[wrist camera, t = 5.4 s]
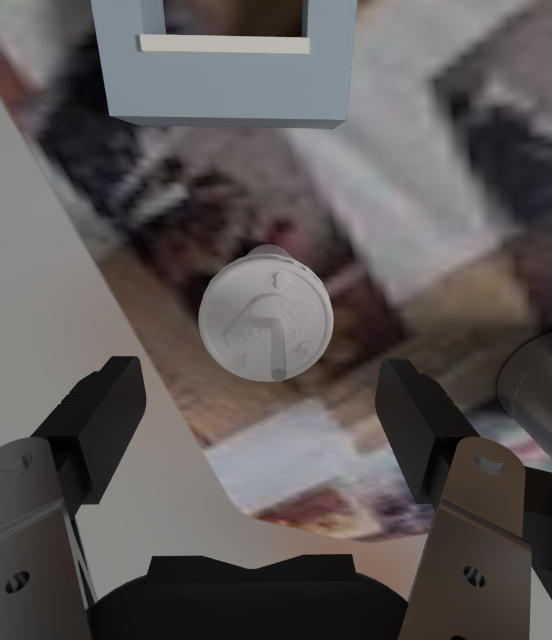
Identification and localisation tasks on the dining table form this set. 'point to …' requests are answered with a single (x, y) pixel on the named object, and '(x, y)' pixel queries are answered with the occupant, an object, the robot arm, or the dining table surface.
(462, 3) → the dining table surface
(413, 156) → the dining table surface
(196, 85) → the socket block
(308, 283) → the smoothie
